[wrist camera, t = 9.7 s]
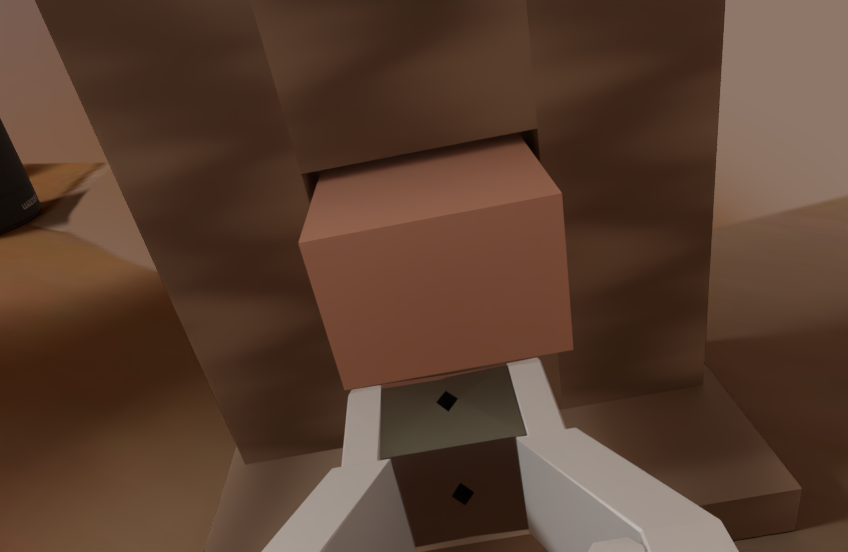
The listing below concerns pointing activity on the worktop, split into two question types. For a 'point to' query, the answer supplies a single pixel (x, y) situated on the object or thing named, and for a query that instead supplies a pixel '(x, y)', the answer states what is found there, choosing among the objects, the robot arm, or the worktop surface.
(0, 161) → the pen holder
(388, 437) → the robot arm
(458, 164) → the key low
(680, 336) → the brown wooden shelf tower
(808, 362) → the worktop surface
